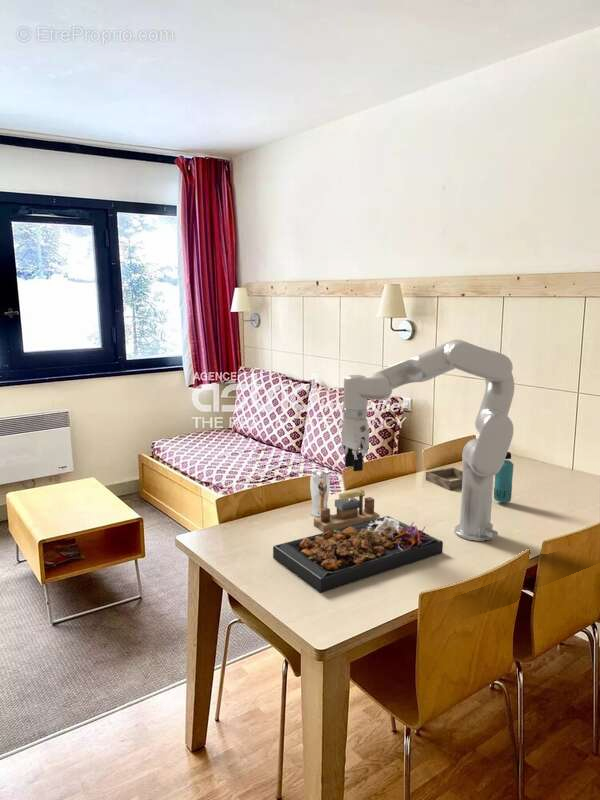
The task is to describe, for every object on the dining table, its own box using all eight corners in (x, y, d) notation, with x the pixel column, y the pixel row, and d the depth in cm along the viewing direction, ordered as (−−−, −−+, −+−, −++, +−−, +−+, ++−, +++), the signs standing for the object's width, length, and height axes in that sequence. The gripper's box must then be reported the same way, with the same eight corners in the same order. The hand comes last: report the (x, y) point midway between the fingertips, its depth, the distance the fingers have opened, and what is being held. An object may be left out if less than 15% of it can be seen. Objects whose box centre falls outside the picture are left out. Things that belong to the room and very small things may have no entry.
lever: (365, 495, 199) (366, 491, 199) (341, 500, 195) (341, 495, 195) (362, 493, 201) (362, 489, 201) (338, 497, 197) (338, 493, 197)
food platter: (388, 528, 197) (389, 499, 195) (442, 555, 177) (443, 522, 175) (273, 559, 173) (273, 527, 171) (320, 595, 152) (321, 558, 151)
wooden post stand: (379, 521, 201) (380, 496, 199) (323, 532, 191) (324, 506, 189) (368, 514, 207) (368, 490, 205) (313, 525, 197) (314, 500, 196)
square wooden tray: (477, 485, 241) (478, 476, 240) (449, 490, 234) (450, 481, 233) (452, 475, 254) (453, 467, 253) (425, 479, 247) (425, 471, 247)
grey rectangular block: (359, 507, 197) (360, 500, 197) (342, 510, 194) (342, 503, 194) (352, 502, 202) (352, 495, 201) (334, 506, 199) (334, 498, 198)
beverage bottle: (508, 500, 222) (512, 450, 219) (513, 506, 216) (517, 454, 212) (491, 500, 223) (494, 449, 220) (495, 506, 216) (498, 454, 213)
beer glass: (327, 518, 204) (328, 477, 201) (308, 516, 205) (308, 475, 202) (330, 511, 210) (331, 471, 208) (311, 509, 212) (312, 470, 209)
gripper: (379, 417, 181) (378, 474, 184) (350, 408, 196) (349, 460, 199) (359, 419, 178) (357, 477, 181) (331, 410, 192) (330, 463, 196)
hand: (353, 468), depth 190 cm, fingers open, 4 cm apart
